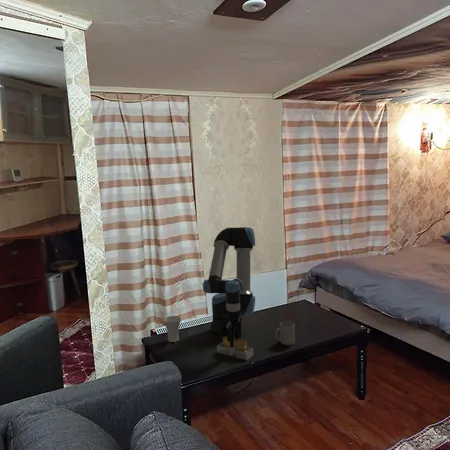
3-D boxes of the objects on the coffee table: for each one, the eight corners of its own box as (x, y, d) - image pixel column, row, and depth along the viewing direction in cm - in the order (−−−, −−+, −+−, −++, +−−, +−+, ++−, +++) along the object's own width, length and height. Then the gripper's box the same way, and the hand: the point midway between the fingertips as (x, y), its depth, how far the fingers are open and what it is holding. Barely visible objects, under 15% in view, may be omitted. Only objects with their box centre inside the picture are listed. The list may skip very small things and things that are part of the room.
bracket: (217, 352, 228) (216, 345, 228) (224, 347, 234) (223, 341, 233) (246, 360, 218) (246, 353, 217) (253, 355, 224) (253, 348, 223)
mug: (290, 338, 244) (289, 320, 242) (297, 343, 236) (297, 325, 234) (272, 341, 239) (271, 323, 238) (279, 347, 231) (279, 328, 230)
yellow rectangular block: (223, 349, 228) (223, 337, 227) (226, 347, 230) (226, 335, 229) (244, 355, 220) (244, 342, 219) (247, 353, 223) (246, 340, 222)
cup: (184, 337, 250) (183, 316, 248) (178, 345, 240) (177, 322, 238) (168, 336, 253) (167, 315, 251) (161, 343, 243) (160, 321, 241)
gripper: (231, 315, 214) (232, 358, 217) (247, 306, 227) (248, 347, 230) (219, 313, 218) (221, 355, 221) (235, 304, 231) (236, 344, 234)
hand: (234, 351), depth 225 cm, fingers closed on yellow rectangular block, 3 cm apart
